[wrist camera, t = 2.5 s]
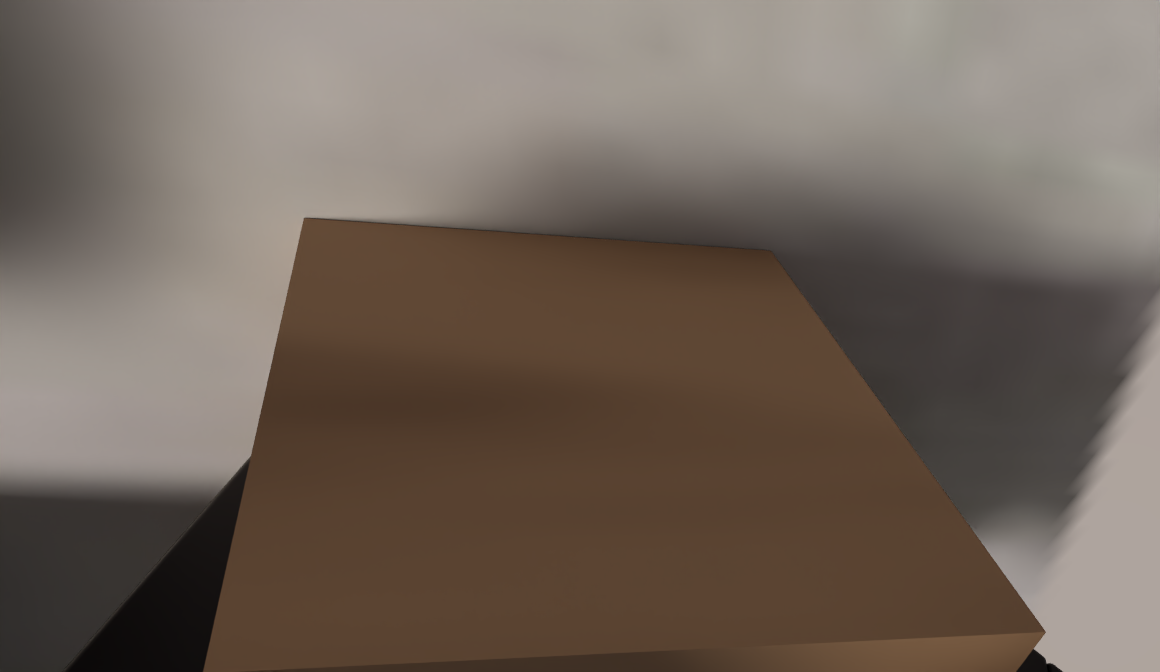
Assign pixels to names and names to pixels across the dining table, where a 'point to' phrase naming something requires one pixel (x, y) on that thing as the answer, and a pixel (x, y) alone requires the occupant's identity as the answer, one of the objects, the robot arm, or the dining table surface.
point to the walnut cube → (586, 474)
